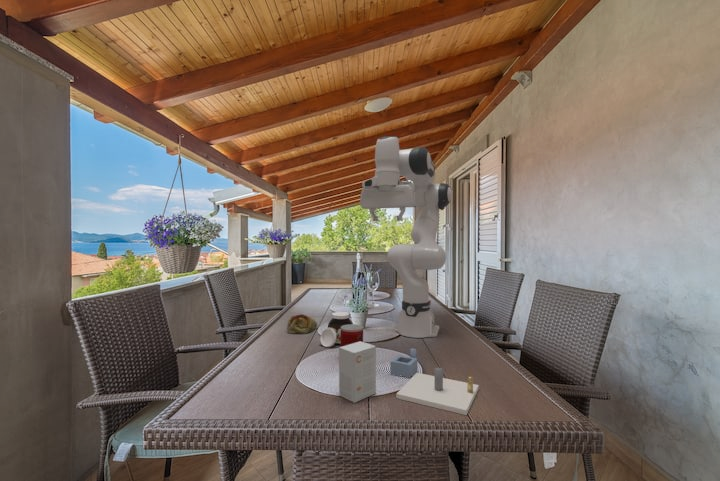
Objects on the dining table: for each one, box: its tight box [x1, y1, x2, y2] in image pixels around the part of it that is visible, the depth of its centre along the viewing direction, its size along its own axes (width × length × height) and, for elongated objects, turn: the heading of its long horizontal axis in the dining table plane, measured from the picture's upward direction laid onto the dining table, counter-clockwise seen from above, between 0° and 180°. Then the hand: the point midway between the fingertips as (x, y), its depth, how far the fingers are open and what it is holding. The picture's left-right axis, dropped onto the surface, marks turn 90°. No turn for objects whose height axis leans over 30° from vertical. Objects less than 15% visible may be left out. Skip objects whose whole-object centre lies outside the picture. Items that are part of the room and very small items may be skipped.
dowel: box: [467, 375, 474, 393], centre depth 93 cm, size 1×1×4 cm
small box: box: [338, 341, 377, 404], centre depth 94 cm, size 8×6×13 cm
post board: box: [396, 366, 479, 416], centre depth 94 cm, size 16×18×7 cm
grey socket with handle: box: [389, 347, 418, 379], centre depth 111 cm, size 12×6×5 cm, turn 151°
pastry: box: [286, 313, 318, 335], centre depth 156 cm, size 14×12×8 cm
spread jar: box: [320, 311, 354, 348], centre depth 137 cm, size 12×11×12 cm
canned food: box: [339, 323, 364, 347], centre depth 121 cm, size 8×8×11 cm
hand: (387, 220), depth 124 cm, fingers open, 8 cm apart
